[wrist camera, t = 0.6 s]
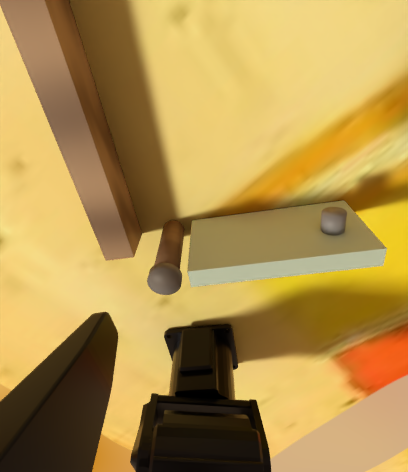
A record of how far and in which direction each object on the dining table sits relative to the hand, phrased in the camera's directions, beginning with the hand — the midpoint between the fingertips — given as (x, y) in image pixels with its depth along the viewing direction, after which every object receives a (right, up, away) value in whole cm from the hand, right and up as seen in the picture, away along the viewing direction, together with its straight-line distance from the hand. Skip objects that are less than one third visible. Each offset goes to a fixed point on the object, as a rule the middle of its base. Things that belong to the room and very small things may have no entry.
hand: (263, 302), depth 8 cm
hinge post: (-4, +2, +14) cm, 15 cm away
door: (+3, +4, +13) cm, 14 cm away
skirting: (-9, +9, +10) cm, 16 cm away
